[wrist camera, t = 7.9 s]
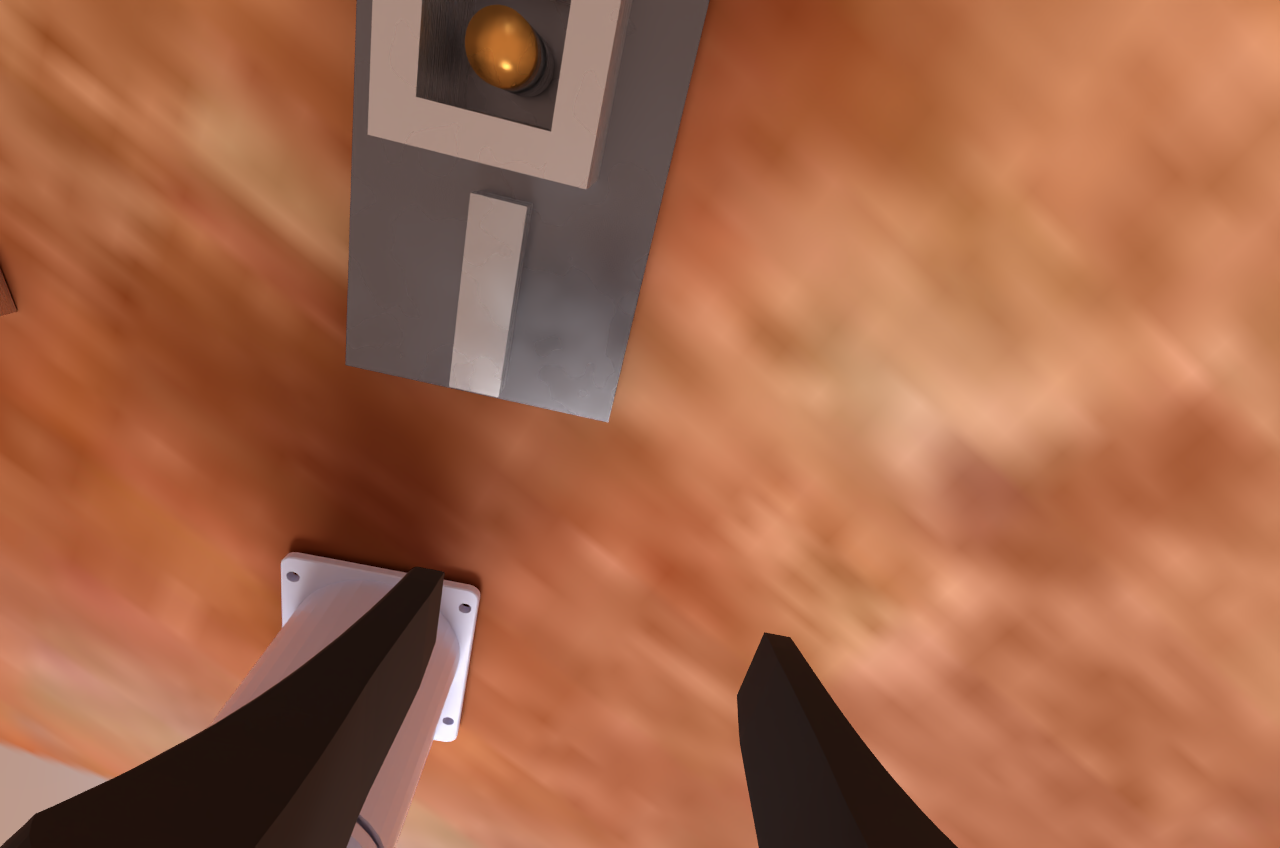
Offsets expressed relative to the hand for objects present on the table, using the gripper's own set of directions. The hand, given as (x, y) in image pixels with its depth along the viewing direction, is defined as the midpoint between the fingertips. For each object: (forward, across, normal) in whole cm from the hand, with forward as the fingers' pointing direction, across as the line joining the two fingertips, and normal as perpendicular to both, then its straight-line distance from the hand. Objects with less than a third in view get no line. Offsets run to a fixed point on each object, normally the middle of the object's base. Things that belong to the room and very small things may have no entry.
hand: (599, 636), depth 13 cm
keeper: (+10, +5, -8) cm, 14 cm away
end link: (+9, +5, -11) cm, 15 cm away
